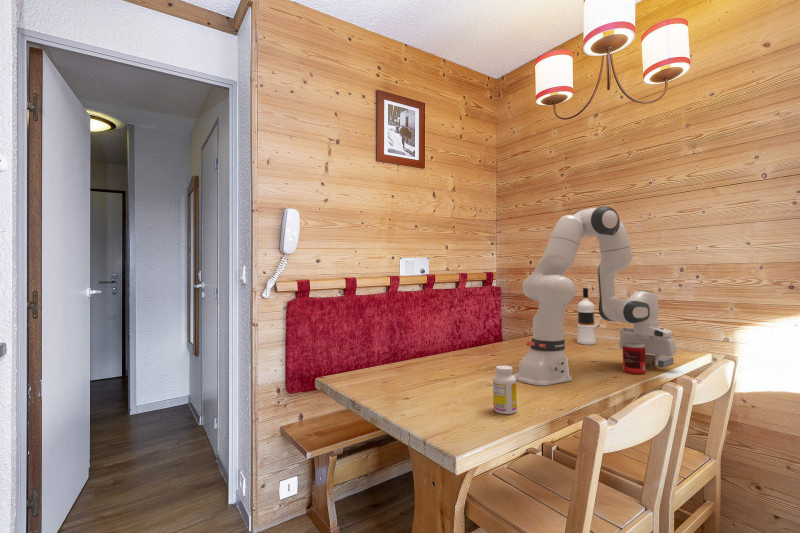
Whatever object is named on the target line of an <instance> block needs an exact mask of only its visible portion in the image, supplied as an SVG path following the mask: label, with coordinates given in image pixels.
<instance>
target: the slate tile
mask: <svg viewBox="0 0 800 533" xmlns="http://www.w3.org/2000/svg"><path fill="white" fill-rule="evenodd" d="M647 354H648V355H655V354H650V353H647ZM656 358H657V357H656ZM673 364H674V356H671V357H669V356H663V355H661V358H660V359H659V361H658V365H657V366H656V367H662V368H666V367H667V366H670V365H673Z"/></svg>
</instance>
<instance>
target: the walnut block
mask: <svg viewBox="0 0 800 533" xmlns="http://www.w3.org/2000/svg"><path fill="white" fill-rule="evenodd" d="M648 354H649V353H645V370H649V371H652V370H654V369H657V366H656V365H652V361H653V360H655V359H656V357H655V354H654V355H648Z"/></svg>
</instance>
